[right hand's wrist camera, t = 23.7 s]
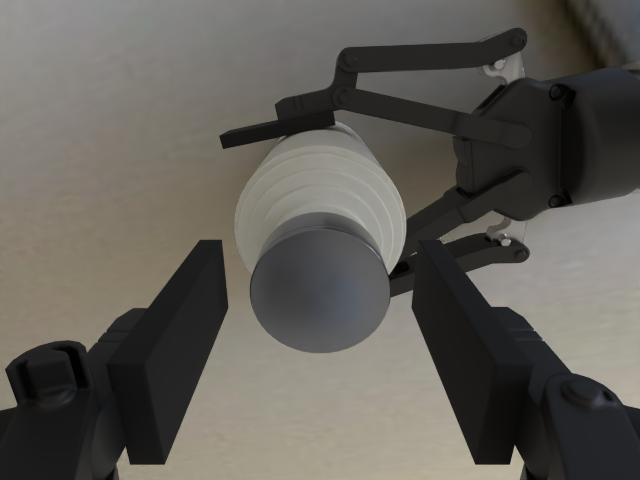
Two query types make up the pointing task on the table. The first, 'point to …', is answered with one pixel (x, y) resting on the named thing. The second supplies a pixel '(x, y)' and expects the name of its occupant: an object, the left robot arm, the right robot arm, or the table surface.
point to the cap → (320, 283)
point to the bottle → (320, 191)
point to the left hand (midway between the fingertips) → (246, 207)
